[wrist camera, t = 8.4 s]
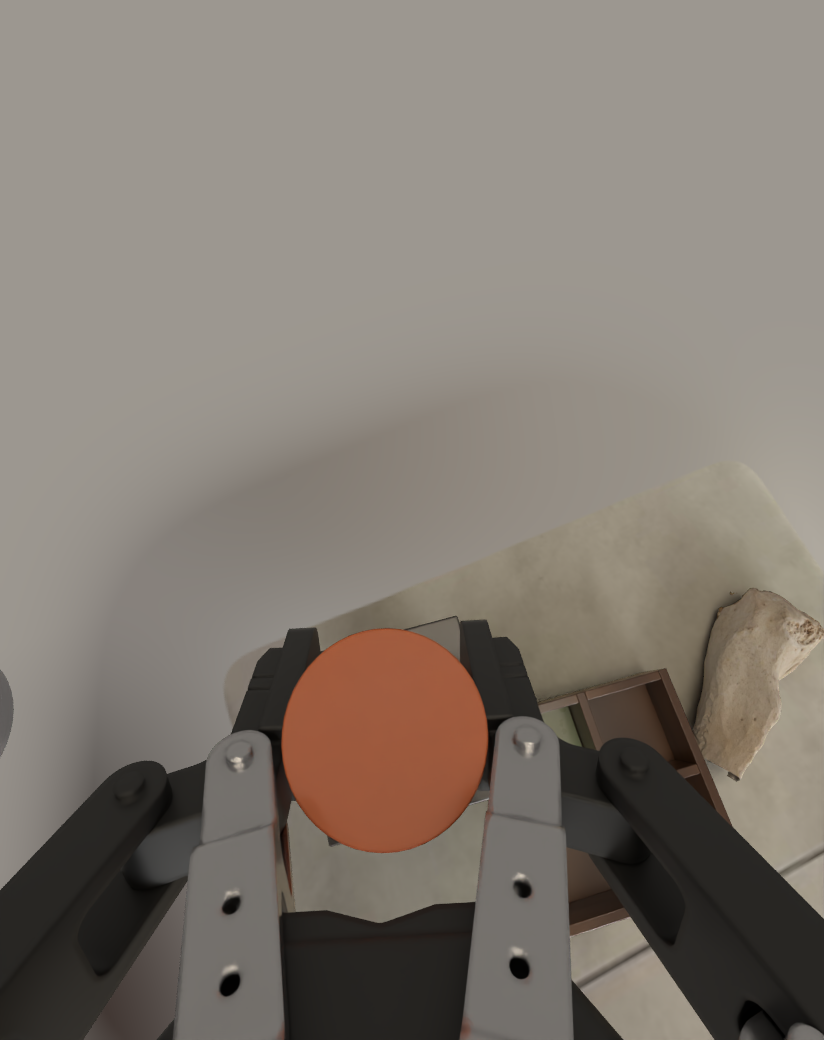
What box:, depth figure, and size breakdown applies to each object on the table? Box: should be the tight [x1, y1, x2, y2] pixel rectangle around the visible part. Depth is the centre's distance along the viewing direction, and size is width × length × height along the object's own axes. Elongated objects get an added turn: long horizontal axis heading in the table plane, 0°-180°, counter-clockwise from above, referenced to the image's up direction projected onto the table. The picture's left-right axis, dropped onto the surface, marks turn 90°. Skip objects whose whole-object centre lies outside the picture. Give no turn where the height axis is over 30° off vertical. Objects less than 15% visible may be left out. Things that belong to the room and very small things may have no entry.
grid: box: [537, 669, 732, 937], centre depth 35 cm, size 13×13×4 cm
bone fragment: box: [692, 588, 824, 782], centre depth 37 cm, size 14×6×5 cm, turn 143°
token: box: [281, 628, 488, 853], centre depth 14 cm, size 4×4×8 cm
